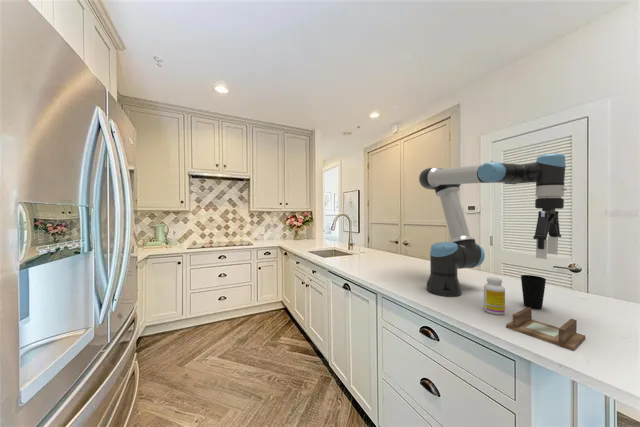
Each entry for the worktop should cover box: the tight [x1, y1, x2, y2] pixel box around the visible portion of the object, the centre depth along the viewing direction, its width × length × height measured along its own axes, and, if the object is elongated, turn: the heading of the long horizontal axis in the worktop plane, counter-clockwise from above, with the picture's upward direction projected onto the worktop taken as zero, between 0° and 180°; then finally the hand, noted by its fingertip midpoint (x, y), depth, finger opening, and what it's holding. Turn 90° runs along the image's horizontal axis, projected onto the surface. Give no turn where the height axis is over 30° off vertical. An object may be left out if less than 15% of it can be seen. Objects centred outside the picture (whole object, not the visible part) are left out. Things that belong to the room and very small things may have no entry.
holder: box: [505, 306, 586, 352], centre depth 77 cm, size 16×12×5 cm
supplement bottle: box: [483, 276, 506, 316], centre depth 94 cm, size 7×7×13 cm
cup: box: [520, 274, 547, 310], centre depth 99 cm, size 8×8×12 cm
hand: (546, 256), depth 88 cm, fingers open, 13 cm apart
